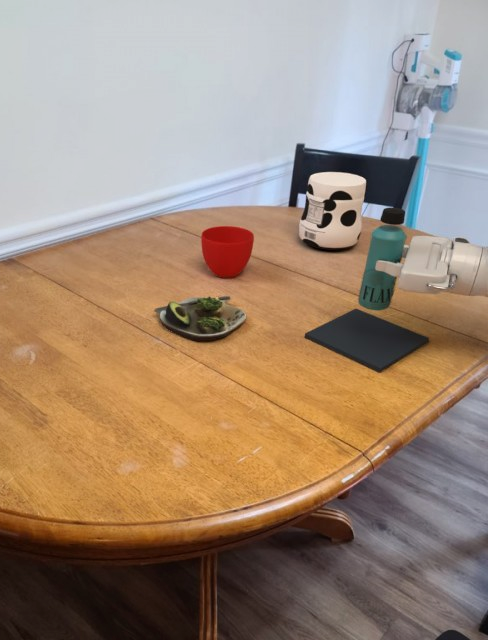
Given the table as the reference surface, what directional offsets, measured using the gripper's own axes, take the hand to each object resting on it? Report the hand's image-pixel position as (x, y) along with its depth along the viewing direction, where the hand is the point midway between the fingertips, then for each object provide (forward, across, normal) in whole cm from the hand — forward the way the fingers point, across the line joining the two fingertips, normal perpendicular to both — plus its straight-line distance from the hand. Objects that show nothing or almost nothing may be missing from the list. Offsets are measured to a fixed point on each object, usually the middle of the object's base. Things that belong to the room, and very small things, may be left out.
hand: (379, 256), depth 107 cm
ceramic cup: (+38, +22, -18) cm, 48 cm away
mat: (-1, 0, -18) cm, 18 cm away
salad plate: (+33, -8, -18) cm, 38 cm away
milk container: (+19, +53, -18) cm, 59 cm away
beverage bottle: (-1, 0, -11) cm, 11 cm away
